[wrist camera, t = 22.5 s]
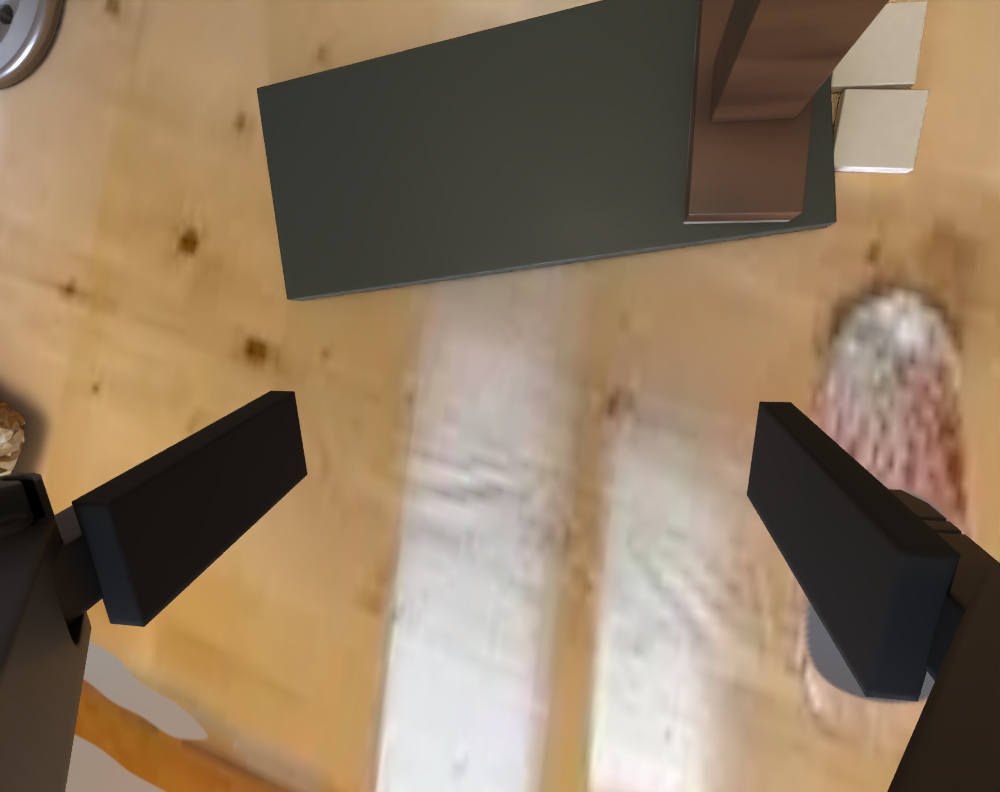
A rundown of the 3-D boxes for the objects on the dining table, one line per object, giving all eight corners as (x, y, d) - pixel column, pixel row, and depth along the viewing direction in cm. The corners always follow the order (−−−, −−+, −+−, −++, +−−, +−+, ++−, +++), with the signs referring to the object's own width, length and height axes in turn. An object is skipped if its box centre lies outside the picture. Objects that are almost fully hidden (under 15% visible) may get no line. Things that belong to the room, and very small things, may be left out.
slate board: (270, 97, 37) (256, 88, 35) (815, -38, 29) (825, -58, 27) (299, 301, 38) (286, 299, 37) (826, 227, 30) (837, 222, 29)
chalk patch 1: (835, 14, 29) (841, 5, 28) (920, 8, 28) (928, -1, 27) (825, 93, 29) (830, 86, 28) (908, 90, 28) (916, 83, 28)
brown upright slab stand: (698, -5, 29) (771, -344, 14) (810, -17, 28) (1014, -402, 13) (683, 224, 30) (735, 127, 16) (788, 222, 29) (949, 115, 15)
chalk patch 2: (839, 94, 29) (845, 88, 28) (922, 95, 28) (930, 88, 27) (825, 171, 30) (830, 166, 29) (906, 174, 29) (914, 169, 28)
